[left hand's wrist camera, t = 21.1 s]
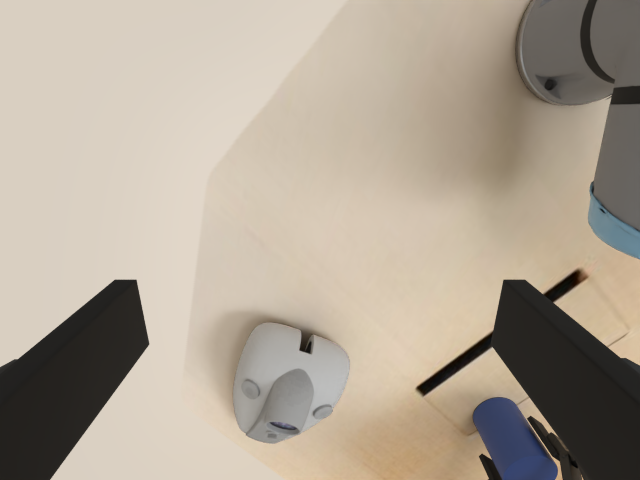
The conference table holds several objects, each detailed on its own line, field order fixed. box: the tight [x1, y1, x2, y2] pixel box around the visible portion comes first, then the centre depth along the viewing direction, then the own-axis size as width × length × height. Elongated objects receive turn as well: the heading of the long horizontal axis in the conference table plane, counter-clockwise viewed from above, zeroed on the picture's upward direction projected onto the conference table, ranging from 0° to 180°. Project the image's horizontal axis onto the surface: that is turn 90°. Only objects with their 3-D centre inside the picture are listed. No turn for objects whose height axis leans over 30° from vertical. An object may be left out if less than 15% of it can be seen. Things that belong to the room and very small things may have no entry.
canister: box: [473, 397, 558, 480], centre depth 57 cm, size 8×8×11 cm
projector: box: [233, 322, 350, 444], centre depth 52 cm, size 22×23×15 cm
